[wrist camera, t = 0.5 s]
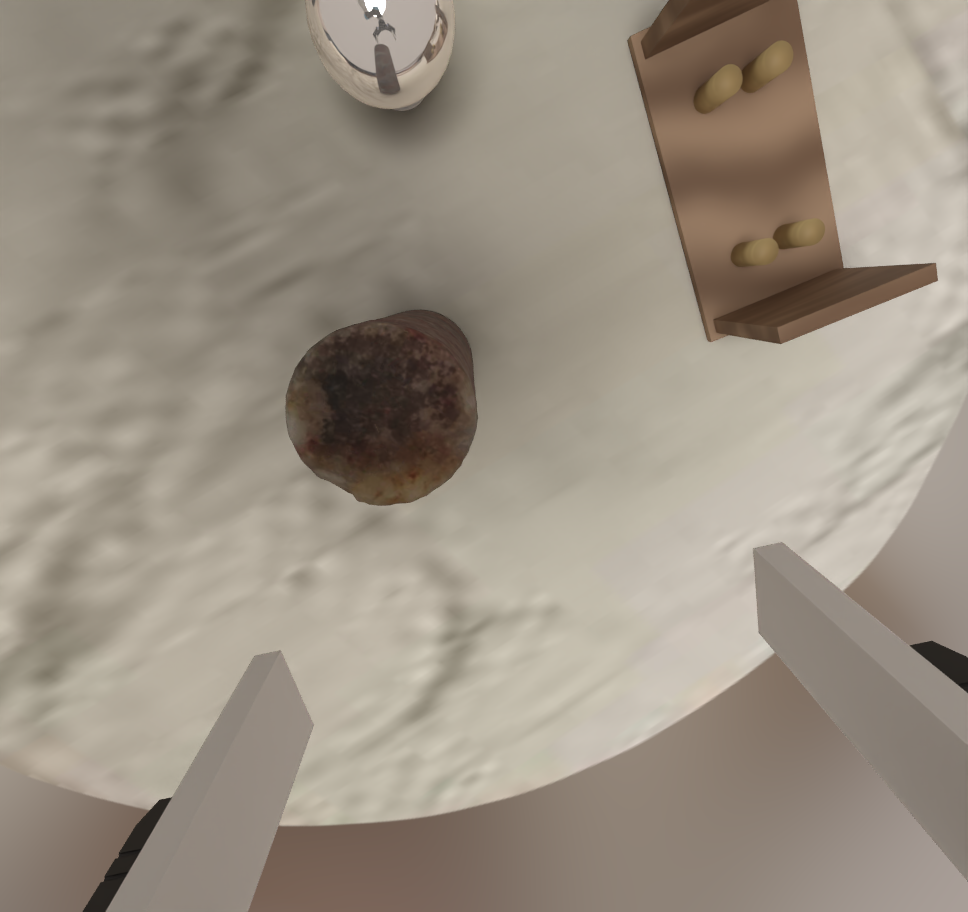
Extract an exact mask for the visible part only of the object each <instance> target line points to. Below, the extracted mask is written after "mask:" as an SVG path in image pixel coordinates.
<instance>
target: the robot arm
mask: <svg viewBox="0 0 968 912" xmlns="http://www.w3.org/2000/svg"><path fill="white" fill-rule="evenodd" d="M753 554H754V569H755V584H756V599H757V614H758V629H759V634H760V635H761V636H762V637H763V638H764V639H765V641H766V642H767V643H768V644H769V645H770V647H771V648H772V649H773V650H774V651H775V653H776V654H777V655H778V656H779V657H780V659H781V660H782V661H783V662H784V663H785V664H786V666H787V667H788V668H789V669H790V670H791V672H792V673H793V674H794V675H795V676H796V678H797V679H798V680H799V681H800V682H801V684H803V686H804V687H805V688H806V689H807V691H808V692H809V693H810V694H811V695H812V697H813V698H814V699H815V700H816V701H817V703H818V704H819V705H820V706H821V707H822V709H823V710H824V711H825V712H826V713H827V714H828V715H829V717H830V718H831V719H832V720H833V722H834V723H835V724H836V725H837V726H838V727H839V729H840V730H841V731H842V732H843V734H844V735H845V736H846V737H847V738H848V739H849V741H850V742H851V743H852V744H853V745H854V747H855V748H856V749H857V750H858V751H859V752H860V754H861V755H862V756H863V757H864V758H865V760H866V761H867V762H868V763H869V764H870V766H871V767H872V768H873V769H874V770H875V772H876V773H877V774H878V775H879V776H880V778H881V779H882V780H883V781H884V782H885V783H886V785H887V786H888V787H889V788H890V789H891V791H892V792H893V793H894V794H895V795H896V797H897V798H898V799H899V800H900V801H901V803H902V804H903V805H904V806H905V807H906V808H907V810H908V811H909V812H910V813H911V814H912V816H913V817H914V818H915V819H916V820H917V822H918V823H919V824H920V825H921V826H922V828H923V829H924V830H925V831H926V832H927V834H928V835H929V836H930V837H931V838H932V839H933V841H934V842H935V843H936V844H937V845H938V847H939V848H940V849H941V850H942V851H943V852H944V854H945V855H946V856H947V857H948V859H949V860H950V861H951V862H952V863H953V864H954V865H955V867H956V868H957V869H958V870H959V872H960V873H961V874H962V875H963V876H964V878H965V879H966V880H967V881H968V658H967V657H966V656H964V655H962V654H959V653H957V652H955V651H953V650H951V649H948V648H946V647H944V646H942V645H940V644H937V643H935V642H933V641H929V642H924V643H920V644H914V645H908V644H907V643H905V642H904V641H903V640H902V639H900V638H899V637H898V636H897V635H895V634H894V633H893V632H891V630H889V629H888V628H887V627H886V626H884V625H883V624H882V623H881V622H880V621H878V620H877V619H876V618H875V617H873V616H872V615H871V614H869V612H867V611H866V610H865V609H863V608H862V607H861V606H860V605H859V604H857V603H856V602H855V601H854V600H853V599H851V598H850V597H849V596H848V595H846V594H845V593H844V592H843V591H841V590H840V589H839V588H838V587H837V586H835V585H834V584H833V583H832V582H830V581H829V580H828V579H827V578H825V577H824V576H823V575H822V574H821V573H819V572H818V571H817V570H816V569H814V568H813V567H812V566H811V565H809V564H808V563H807V562H806V561H805V560H803V559H802V558H801V557H800V556H798V555H797V554H796V553H795V552H793V551H792V550H791V549H790V548H789V547H787V546H786V545H785V544H784V543H782V542H781V543H776V544H771V545H767V546H762V547H757V548H753ZM313 726H314V724H313V722H312V720H311V717H310V715H309V713H308V711H307V708H306V706H305V704H304V702H303V699H302V697H301V695H300V693H299V690H298V688H297V686H296V684H295V681H294V679H293V677H292V675H291V672H290V670H289V668H288V666H287V663H286V661H285V659H284V656H283V654H282V652H281V650H280V651H275V652H271V653H266V654H261V655H257V656H254V658H253V659H252V661H251V663H250V664H249V666H248V668H247V670H246V671H245V673H244V675H243V676H242V678H241V680H240V682H239V683H238V685H237V687H236V689H235V690H234V692H233V694H232V695H231V697H230V699H229V701H228V702H227V704H226V706H225V707H224V709H223V711H222V713H221V714H220V716H219V718H218V719H217V721H216V723H215V725H214V726H213V728H212V730H211V731H210V733H209V735H208V737H207V738H206V740H205V742H204V744H203V745H202V747H201V749H200V750H199V752H198V754H197V756H196V757H195V759H194V761H193V762H192V764H191V766H190V768H189V769H188V771H187V773H186V774H185V776H184V778H183V780H182V781H181V783H180V785H179V786H178V788H177V790H176V792H175V793H174V795H173V797H171V798H166V799H161V800H159V801H158V802H157V803H156V804H155V805H154V806H153V808H152V809H151V810H150V811H149V812H148V813H147V814H146V815H145V816H144V817H143V818H142V819H141V821H140V822H139V823H138V824H137V825H136V826H135V828H134V829H133V831H132V833H131V835H130V836H129V838H128V839H127V841H126V842H125V844H124V846H123V847H122V849H121V850H120V852H119V857H118V858H117V859H115V860H114V862H113V863H112V865H111V867H110V868H109V870H108V871H107V873H106V875H105V880H104V882H101V883H100V885H99V886H98V888H97V889H96V891H95V893H94V894H93V896H92V897H91V899H90V901H89V902H88V904H87V905H86V907H85V909H84V910H83V912H248V910H249V907H250V904H251V901H252V898H253V896H254V893H255V890H256V887H257V884H258V882H259V878H260V876H261V873H262V870H263V867H264V865H265V862H266V859H267V856H268V853H269V850H270V848H271V845H272V842H273V839H274V836H275V833H276V831H277V828H278V825H279V822H280V819H281V817H282V814H283V811H284V808H285V805H286V802H287V800H288V797H289V794H290V791H291V788H292V786H293V783H294V780H295V777H296V774H297V771H298V769H299V766H300V763H301V760H302V757H303V754H304V752H305V749H306V746H307V743H308V740H309V738H310V735H311V732H312V729H313Z"/></svg>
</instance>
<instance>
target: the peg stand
mask: <svg viewBox="0 0 968 912" xmlns="http://www.w3.org/2000/svg"><path fill="white" fill-rule="evenodd" d="M628 44H629V48H630V52H631V56H632V59H633V63H634V67H635V71H636V74H637V78H638V82H639V85H640V89H641V93H642V97H643V100H644V104H645V108H646V112H647V115H648V119H649V123H650V127H651V130H652V134H653V138H654V142H655V145H656V149H657V153H658V156H659V160H660V164H661V168H662V171H663V175H664V179H665V183H666V186H667V190H668V194H669V198H670V201H671V205H672V209H673V213H674V216H675V220H676V224H677V227H678V231H679V235H680V239H681V242H682V246H683V250H684V254H685V257H686V261H687V265H688V269H689V272H690V276H691V280H692V284H693V287H694V291H695V295H696V298H697V302H698V306H699V310H700V313H701V317H702V321H703V325H704V328H705V332H706V336H707V340H708V341H709V342H713V341H715V340H718V339H720V338H723V337H725V336H727V335H732V336H738V337H743V338H749V339H755V340H761V341H767V342H772V343H778V344H782V343H784V342H787V341H789V340H792V339H794V338H797V337H799V336H802V335H804V334H807V333H809V332H812V331H814V330H817V329H819V328H822V327H824V326H827V325H829V324H832V323H834V322H837V321H839V320H842V319H844V318H846V317H849V316H851V315H854V314H856V313H859V312H861V311H864V310H866V309H869V308H871V307H874V306H876V305H879V304H881V303H884V302H886V301H889V300H891V299H894V298H896V297H899V296H901V295H904V294H906V293H908V292H911V291H913V290H916V289H918V288H921V287H923V286H926V285H928V284H931V283H933V282H936V281H938V278H937V269H936V263H928V264H911V265H894V266H877V267H860V268H843V262H842V256H841V250H840V245H839V239H838V233H837V227H836V222H835V216H834V210H833V204H832V199H831V193H830V187H829V181H828V175H827V170H826V164H825V158H824V152H823V147H822V141H821V135H820V129H819V124H818V118H817V112H816V106H815V101H814V95H813V89H812V83H811V78H810V72H809V66H808V60H807V55H806V49H805V43H804V37H803V32H802V26H801V20H800V14H799V9H798V3H797V0H669V1H668V2H667V4H666V5H665V7H664V8H663V10H662V11H661V13H660V14H659V15H658V17H657V18H656V20H655V21H654V23H653V24H652V26H651V27H649V28H647V29H645V30H642V31H640V32H638V33H636V34H634V35H632V36H630V38H629V39H628Z"/></svg>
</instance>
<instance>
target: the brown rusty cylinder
mask: <svg viewBox="0 0 968 912" xmlns="http://www.w3.org/2000/svg"><path fill="white" fill-rule="evenodd" d="M473 373H474V372H473V360H472V353H471V349H470V346H469V343H468V341H467V339H466V337H465V335H464V334H463V332H462V331H461V330H460V328H459V327H458V326H457V325H456V324H455V323H454V322H452V321H451V320H449V319H448V318H446V317H444V316H443V315H441V314H438V313H435V312H432V311H426V310H411V311H405V312H401V313H398V314H395V315H392V316H388V317H385V318H380V319H376V320H369V321H366V322H362V323H358V324H354V325H351V326H348V327H345V328H342V329H339V330H336V331H335V332H333V333H331V334H329V335H328V336H326V337H325V338H323V339H322V340H320V341H319V342H318V343H316V344H315V345H314V346H313V347H312V348H310V349H309V350H308V351H307V353H306V354H305V355H304V357H303V358H302V359H301V361H300V362H299V364H298V365H297V367H296V368H295V370H294V373H293V375H292V378H291V380H290V383H289V387H288V390H287V394H286V423H287V429H288V434H289V437H290V439H291V441H292V443H293V445H294V447H295V449H296V451H297V453H298V455H299V457H300V458H301V460H302V461H303V462H304V464H306V465H307V466H308V467H309V468H310V469H311V470H312V471H313V472H314V473H315V474H316V475H317V476H318V477H319V478H321V479H324V480H327V481H329V482H331V483H333V484H335V485H336V486H338V487H340V488H342V489H344V490H345V491H347V492H349V493H351V494H353V495H354V497H355V498H356V500H357V501H359V502H365V503H367V504H369V505H378V506H385V505H392V504H397V503H410V502H413V501H415V500H417V499H419V498H422V497H424V496H427V495H428V494H429V493H431V492H432V491H433V490H435V489H436V488H438V487H440V486H441V485H442V484H444V483H445V482H446V481H447V480H449V479H450V478H451V477H452V476H453V474H454V473H455V472H456V470H457V469H458V468H459V467H460V466H461V464H462V461H463V459H464V458H465V456H466V455H467V453H468V451H469V448H470V446H471V443H472V441H473V438H474V435H475V431H476V427H477V420H478V415H477V403H476V397H475V386H474V375H473Z"/></svg>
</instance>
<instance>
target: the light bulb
mask: <svg viewBox="0 0 968 912" xmlns="http://www.w3.org/2000/svg"><path fill="white" fill-rule="evenodd" d="M305 6H306V15H307V23H308V27H309V31H310V35H311V38H312V41H313V44H314V46H315V48H316V51H317V53H318V55H319V57H320V60H321V62H322V63H323V65H324V67H325V68H326V70H327V71H328V73H329V74H330V76H331V77H332V78H333V79H334V80H335V81H336V82H337V83H338V84H339V85H340V86H341V87H342V88H343V89H344V90H345V91H346V92H347V93H348V94H350V95H351V96H352V97H354V98H355V99H357V100H358V101H360V102H363V103H365V104H367V105H369V106H372V107H377V108H382V109H394V110H398V111H407V110H410V109H413V108H414V107H416V106H417V105H419V104H420V103H421V101H422V100H423V99H424V97H425V96H426V95H427V94H429V93H430V92H431V91H432V90H433V89H434V87H435V86H436V85H437V84H438V82H439V81H440V80H441V78H442V76H443V74H444V72H445V70H446V68H447V66H448V63H449V60H450V57H451V54H452V48H453V41H454V34H455V11H454V6H453V0H305Z"/></svg>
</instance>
